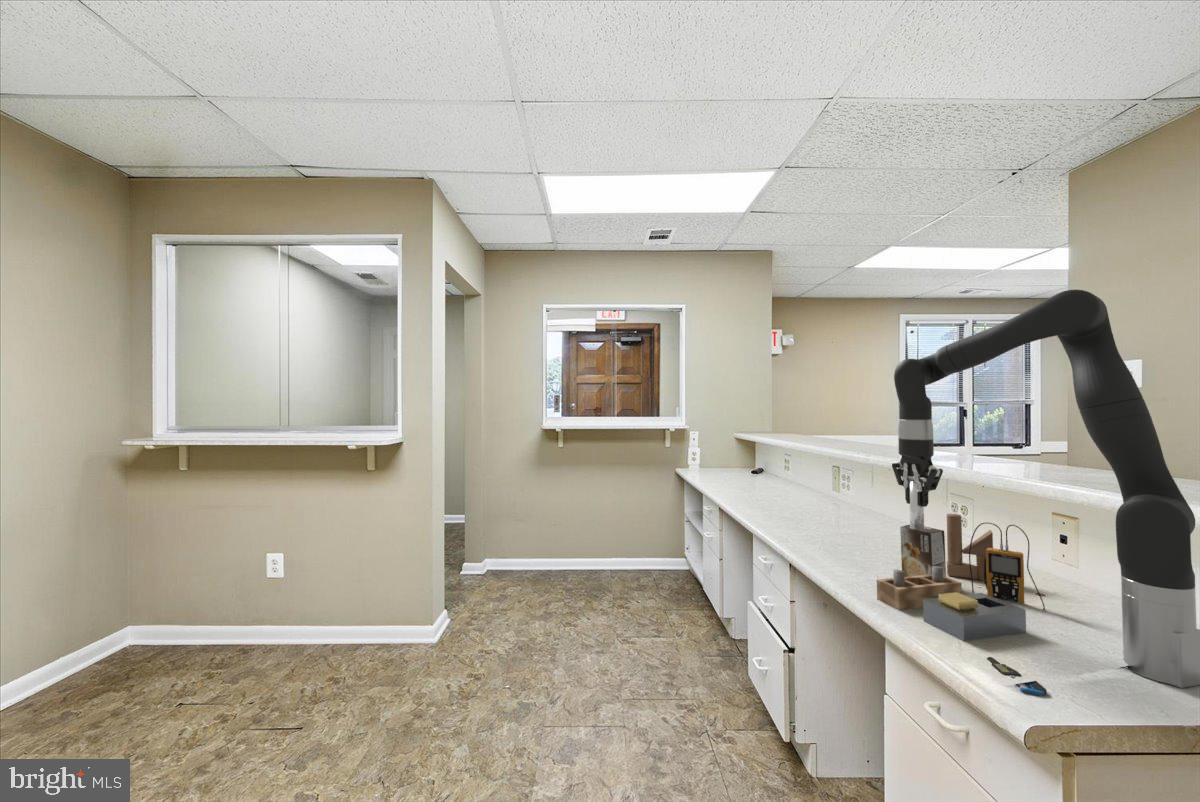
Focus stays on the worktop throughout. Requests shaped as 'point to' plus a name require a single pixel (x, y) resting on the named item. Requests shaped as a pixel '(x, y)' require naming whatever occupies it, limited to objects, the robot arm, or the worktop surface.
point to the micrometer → (1005, 670)
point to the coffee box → (922, 550)
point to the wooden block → (965, 550)
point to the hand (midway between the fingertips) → (916, 504)
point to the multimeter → (1004, 572)
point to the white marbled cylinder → (915, 508)
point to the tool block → (976, 618)
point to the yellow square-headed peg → (958, 601)
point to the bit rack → (915, 588)
